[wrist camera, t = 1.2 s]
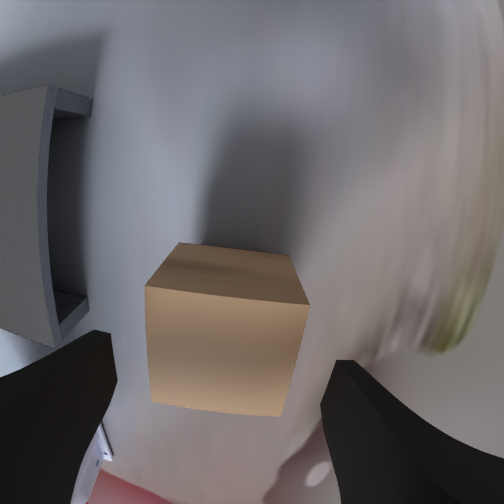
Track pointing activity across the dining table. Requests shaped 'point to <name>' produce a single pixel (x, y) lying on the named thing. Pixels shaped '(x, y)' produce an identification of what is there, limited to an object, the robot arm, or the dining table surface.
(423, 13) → the dining table surface
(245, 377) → the peg
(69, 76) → the dining table surface
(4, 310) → the grey slotted base block
